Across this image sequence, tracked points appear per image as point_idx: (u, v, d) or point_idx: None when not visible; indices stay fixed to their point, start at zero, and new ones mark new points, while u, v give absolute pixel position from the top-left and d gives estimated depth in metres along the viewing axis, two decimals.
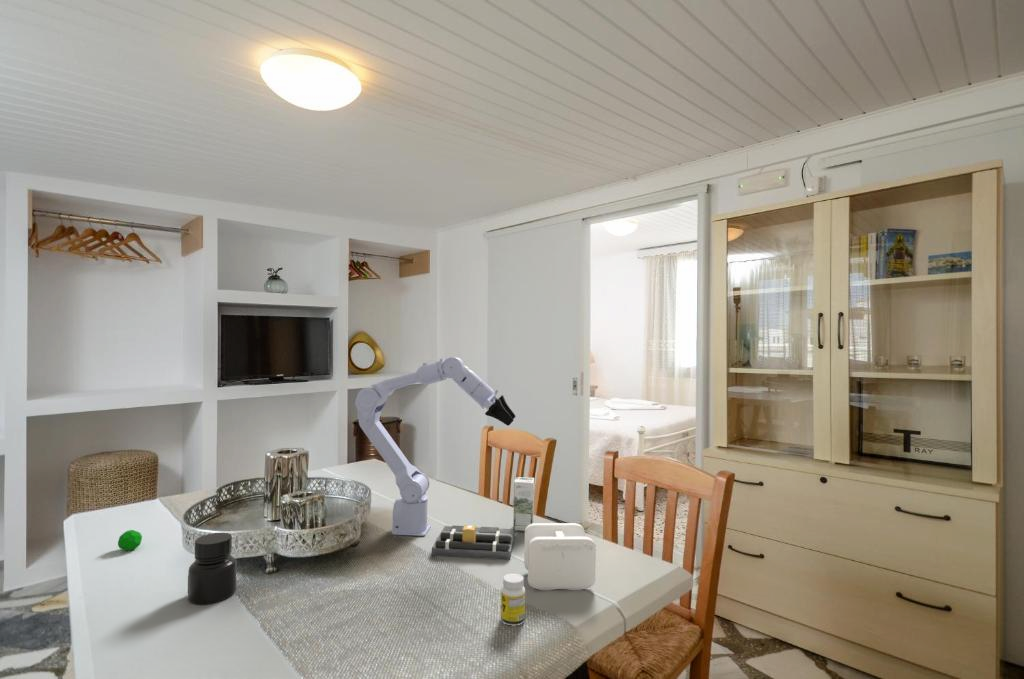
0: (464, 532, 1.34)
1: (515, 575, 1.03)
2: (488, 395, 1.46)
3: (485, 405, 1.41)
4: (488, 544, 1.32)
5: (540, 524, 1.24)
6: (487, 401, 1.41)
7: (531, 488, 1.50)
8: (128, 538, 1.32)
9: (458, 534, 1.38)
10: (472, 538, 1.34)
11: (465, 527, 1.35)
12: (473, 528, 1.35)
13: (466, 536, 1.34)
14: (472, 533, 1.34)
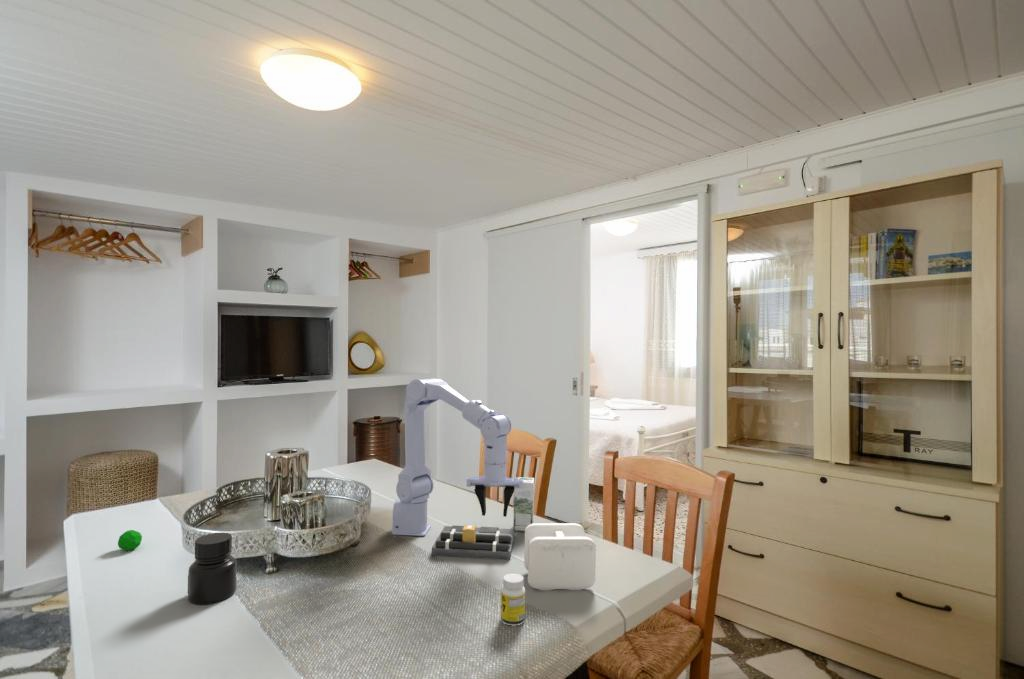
0: (464, 532, 1.34)
1: (515, 575, 1.03)
2: (484, 477, 1.34)
3: None
4: (488, 544, 1.32)
5: (540, 524, 1.24)
6: None
7: (531, 488, 1.50)
8: (128, 538, 1.32)
9: (458, 534, 1.38)
10: (472, 538, 1.34)
11: (465, 527, 1.35)
12: (473, 528, 1.35)
13: (466, 536, 1.34)
14: (472, 533, 1.34)
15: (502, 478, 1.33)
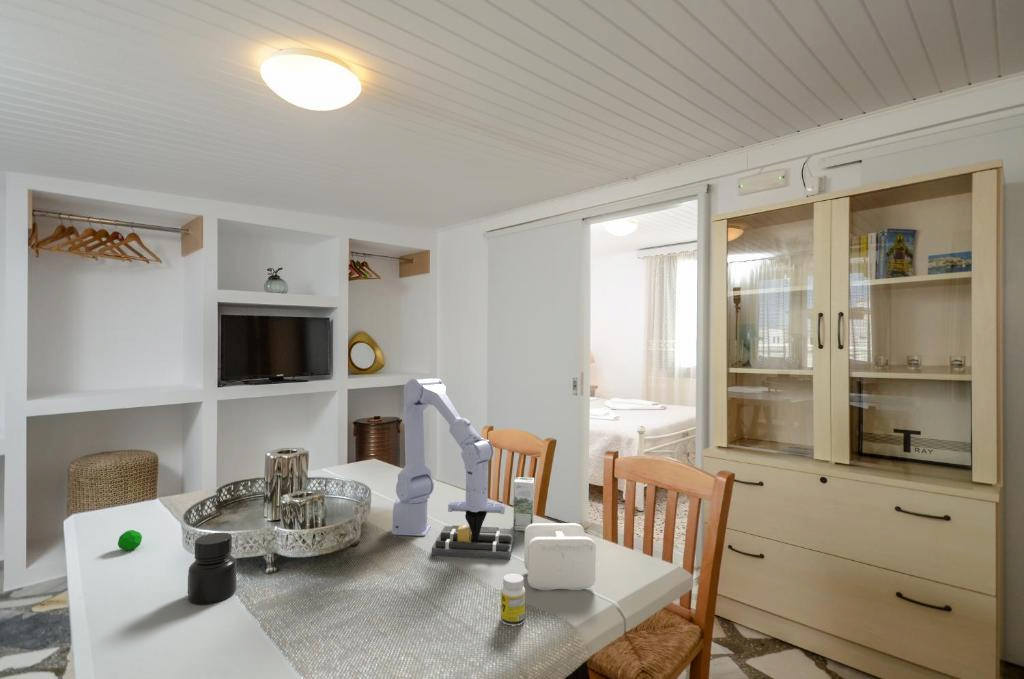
0: (459, 532, 1.34)
1: (515, 575, 1.03)
2: (466, 503, 1.34)
3: None
4: (488, 544, 1.32)
5: (540, 524, 1.24)
6: (448, 505, 1.35)
7: (531, 488, 1.50)
8: (128, 538, 1.32)
9: None
10: (467, 538, 1.34)
11: (460, 527, 1.36)
12: (468, 528, 1.35)
13: (462, 536, 1.34)
14: (468, 532, 1.34)
15: (483, 504, 1.33)
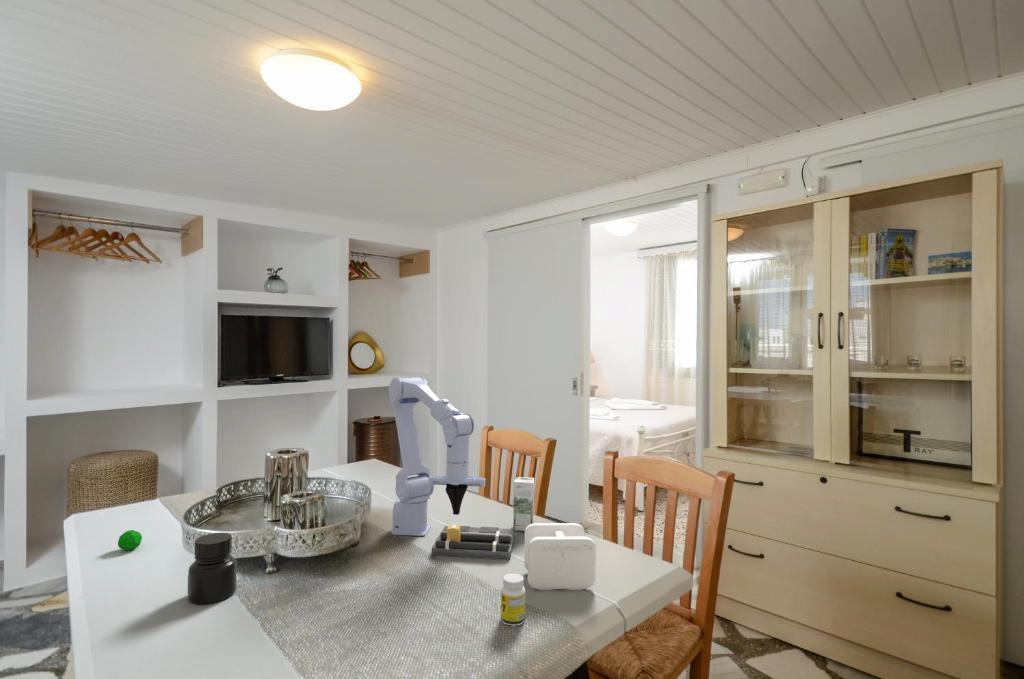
0: (448, 531, 1.34)
1: (515, 575, 1.03)
2: (446, 476, 1.35)
3: None
4: (488, 544, 1.32)
5: (540, 524, 1.24)
6: None
7: (531, 488, 1.50)
8: (128, 538, 1.32)
9: None
10: (456, 537, 1.34)
11: (450, 526, 1.36)
12: (457, 527, 1.35)
13: (451, 535, 1.34)
14: (457, 532, 1.34)
15: (464, 477, 1.34)
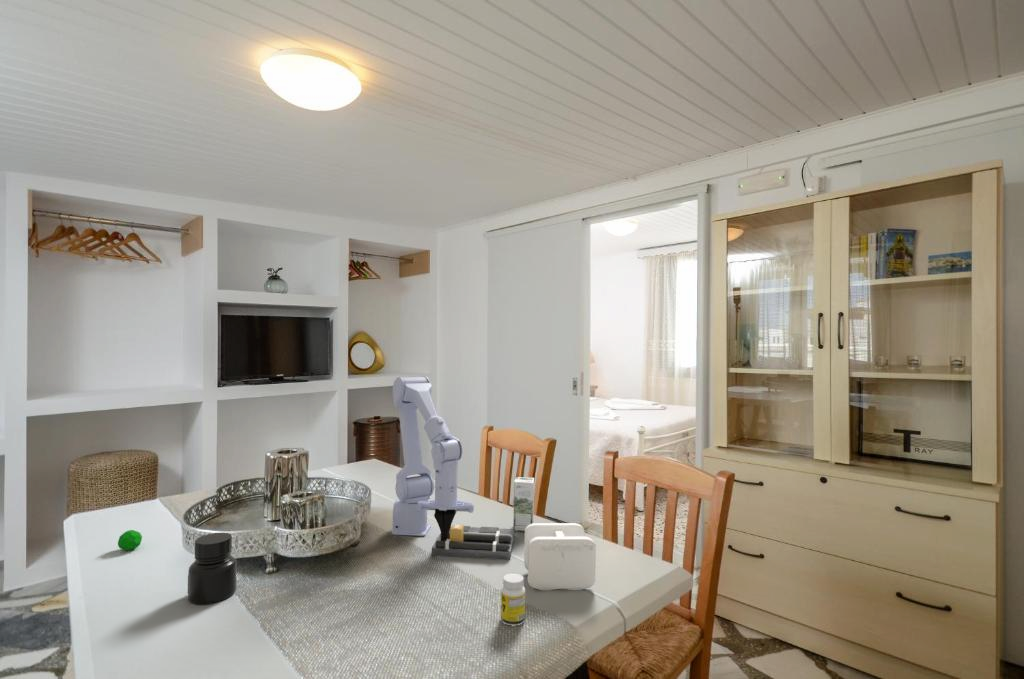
0: (451, 531, 1.34)
1: (515, 575, 1.03)
2: (435, 501, 1.35)
3: None
4: (488, 544, 1.32)
5: (540, 524, 1.24)
6: None
7: (531, 488, 1.50)
8: (128, 538, 1.32)
9: None
10: (459, 537, 1.34)
11: (453, 526, 1.36)
12: (461, 527, 1.35)
13: (454, 535, 1.34)
14: (460, 532, 1.34)
15: (452, 503, 1.34)
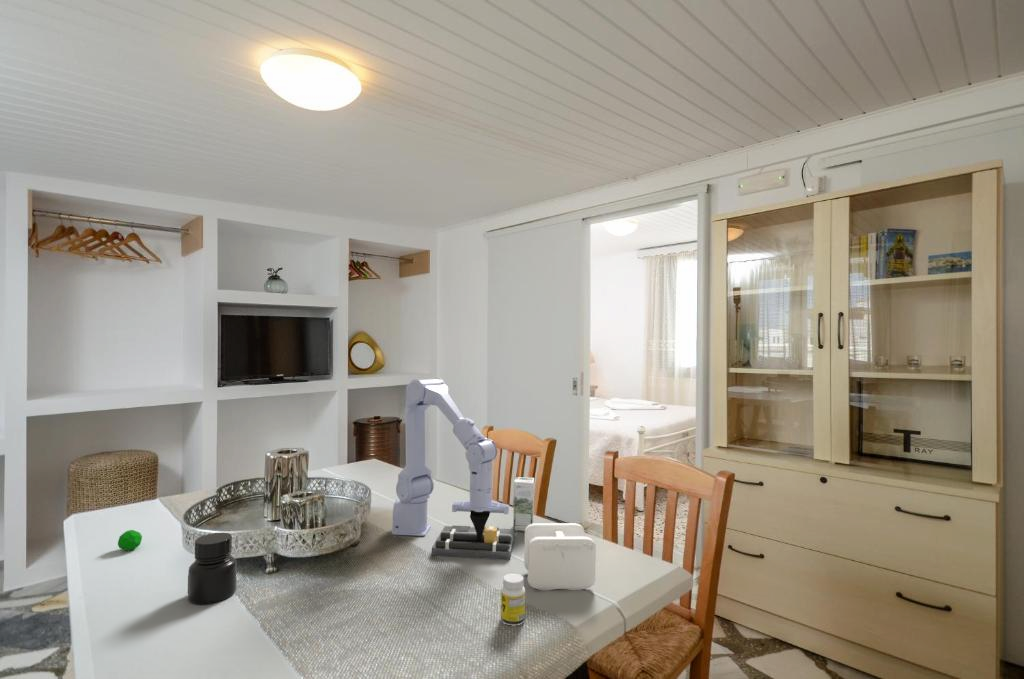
0: (486, 533, 1.33)
1: (515, 575, 1.03)
2: (470, 503, 1.34)
3: None
4: (488, 544, 1.32)
5: (540, 524, 1.24)
6: (452, 505, 1.35)
7: (531, 488, 1.50)
8: (128, 538, 1.32)
9: (458, 534, 1.38)
10: (494, 539, 1.33)
11: (486, 528, 1.35)
12: (495, 529, 1.34)
13: (488, 537, 1.33)
14: (494, 534, 1.33)
15: (488, 504, 1.33)
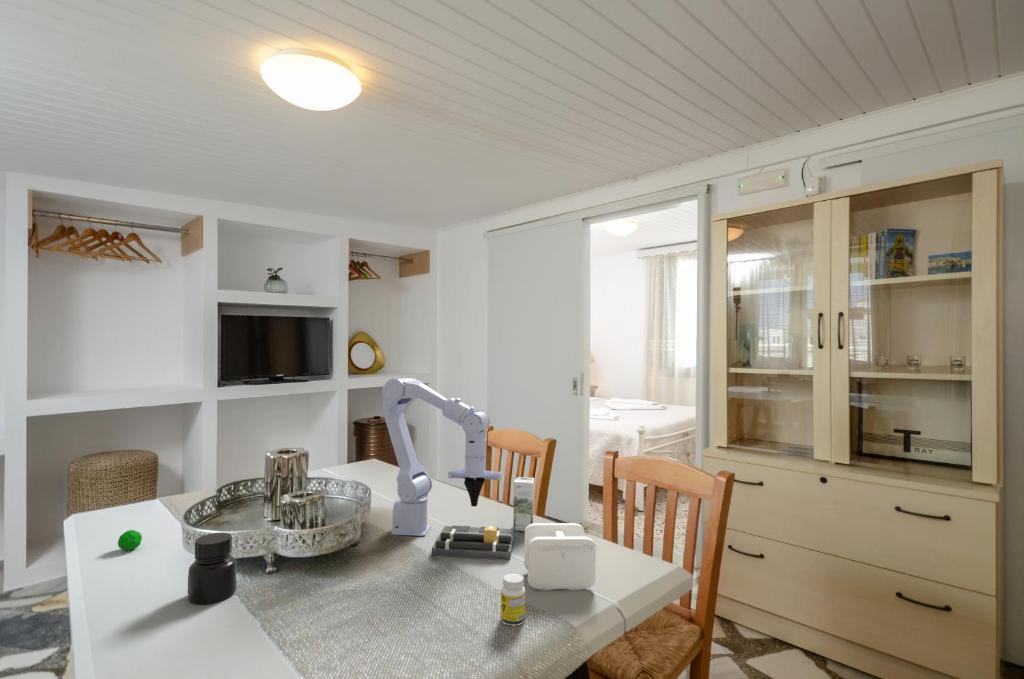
0: (486, 533, 1.33)
1: (515, 575, 1.03)
2: (465, 470, 1.42)
3: None
4: (488, 544, 1.32)
5: (540, 524, 1.24)
6: None
7: (531, 488, 1.50)
8: (128, 538, 1.32)
9: (458, 534, 1.38)
10: (494, 539, 1.33)
11: (486, 528, 1.35)
12: (494, 529, 1.34)
13: (488, 537, 1.33)
14: (494, 534, 1.33)
15: (481, 471, 1.41)
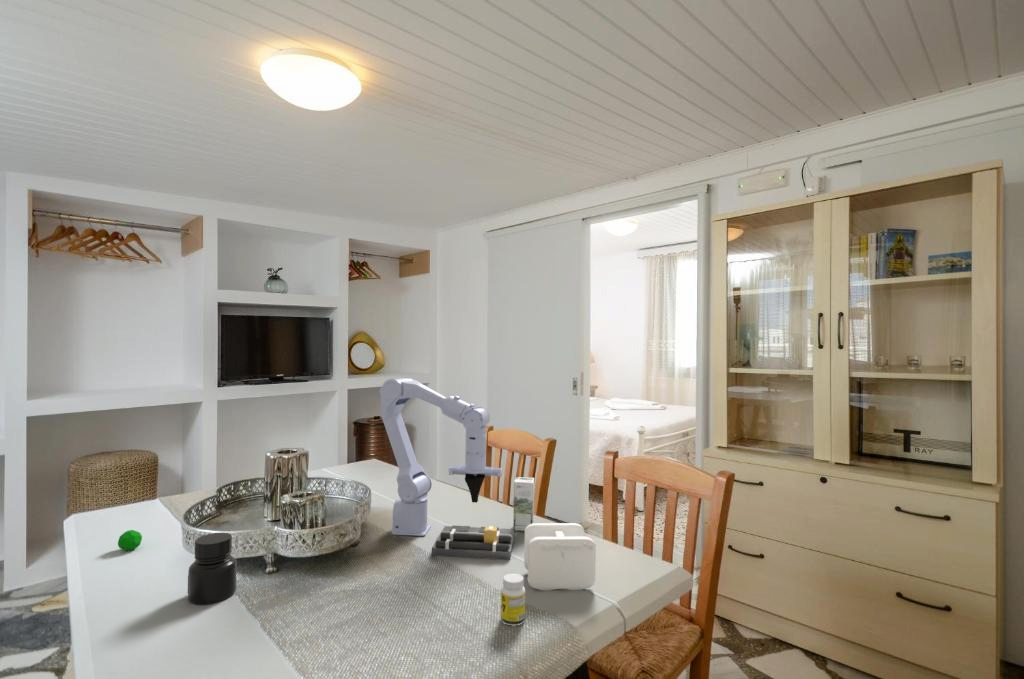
0: (486, 533, 1.33)
1: (515, 575, 1.03)
2: (465, 466, 1.43)
3: None
4: (488, 544, 1.32)
5: (540, 524, 1.24)
6: (449, 469, 1.44)
7: (531, 488, 1.50)
8: (128, 538, 1.32)
9: (458, 534, 1.38)
10: (494, 539, 1.33)
11: (486, 528, 1.35)
12: (494, 529, 1.34)
13: (488, 537, 1.33)
14: (494, 534, 1.33)
15: (482, 467, 1.42)
